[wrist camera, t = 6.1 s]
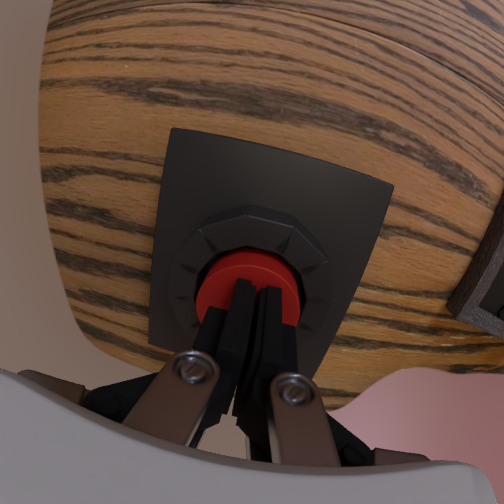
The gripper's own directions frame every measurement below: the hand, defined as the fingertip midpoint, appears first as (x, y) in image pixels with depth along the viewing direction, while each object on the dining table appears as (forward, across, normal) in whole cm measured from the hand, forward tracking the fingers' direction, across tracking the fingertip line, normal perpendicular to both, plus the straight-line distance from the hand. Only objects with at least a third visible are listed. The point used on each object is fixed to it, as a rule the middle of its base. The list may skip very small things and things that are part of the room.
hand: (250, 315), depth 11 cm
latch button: (+2, 0, 0) cm, 2 cm away
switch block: (+5, 0, 0) cm, 5 cm away
